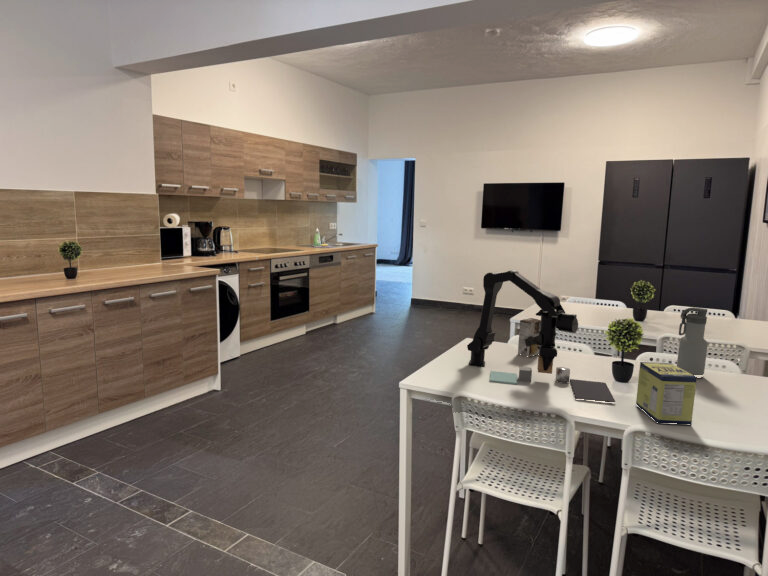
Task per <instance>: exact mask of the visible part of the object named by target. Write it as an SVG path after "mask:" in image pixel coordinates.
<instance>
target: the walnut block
mask: <svg viewBox="0 0 768 576" xmlns="http://www.w3.org/2000/svg"><path fill="white" fill-rule="evenodd" d="M537 356H538V357H537V373H542V374H553V366H554V364H553V363H554V360H553V361H552V362H551V364H550V366H549V368H548V369H547V371H545V370H544V368H543V359H542V357H541V356H540V355H537Z"/></svg>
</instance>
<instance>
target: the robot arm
mask: <svg viewBox="0 0 768 576" xmlns="http://www.w3.org/2000/svg"><path fill="white" fill-rule="evenodd" d="M482 281H483V284H482V286H483V290H484V298H483V302H482V303H483V304H482V309H481V316H480V320H479V325H478V328H477V329H476V331H475V332H474V335H473V337H472V341H471V342H470V343H468V344H467V346H466V348H467V351H469V352H470V359H469V362H468V365H469V366H478V367H485V366H486V361H485V356H486V353H485V352H486V350H488V349H489V347H490V346H491V345H492V344H493V343H494V342H495V336H496V332H495V331H493V330H492V324H493V319H494V313H495V307H496V301H497V296H498V293H499V292H500V290H502V287H503V284H504V283H505V282H511V283H512V284H514V285H515V286H516V287H518V288H519V289H520V290H522V291H523V292H524V293H526V294H527V295H528V296H529V297H531V298H532V299H533V300H534V302H535V304H536V305H537V306H538V307H539V308H540V309H539V310H538V312H536V313H535V316H538V317H540V320H541V323H540V330H539V332H538V333H537V334H532V335H528V336H525V337H524V341H525V344H526V347H529V346H531V345H535V344H537V345H540V346H537V348H538V349H539V355H540V356H541V357H542V359H543V368H544V370H545V371H547V369H548V368H549V366H550V364H551V362H552V361H553V362H554V360H555V357H556V358H557V357H558V349H557V348H556V337H557V330H558V331H560V332H565V333H569V334H576V333H577V331H578V328H579V320H578V317H577V314H573V313H572V314H570V313H566V311H565V309H564V308H563V306H562V304H561V300H560V298H559V296H557V295H555V294H553V293H551V292H550V291H546V290H543V289H542V288H540V287H538V286H537V285H536V284H534V283H533V282H532V281H530V280H529V279H527V278H526V277H525V276H523V274H521V273H520V272H519V271H518V270H516V269H514V270H513V269H512V270H508V271H505V272H500V271H493V272H492V271H491V272H487V273H486V274H484V276H483V280H482Z"/></svg>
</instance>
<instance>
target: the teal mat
mask: <svg viewBox="0 0 768 576" xmlns="http://www.w3.org/2000/svg"><path fill="white" fill-rule="evenodd" d="M517 375H518V373H513V372H507V371H506V372H503V371H496V370H490V375H489V376H490V377H489V383H490V382H491V383H500V384H509V385H518V376H517Z"/></svg>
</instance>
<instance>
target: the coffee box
mask: <svg viewBox="0 0 768 576" xmlns="http://www.w3.org/2000/svg"><path fill="white" fill-rule="evenodd" d="M540 323H541V319H537V318H532V317H531V318H525V319H520V320H519V332H518V333H519V334H518V344H517V346H518V347H517V355H518V354H521V355H520V356H522V355H525V356H524V357H526V356H528V357H527V358H531V357H530V356H532V357H534V356H533V355H536V356H538V355H537V354H539V349H538V348H537V346H540V345H537V344H535V345H531V346H529V347H526V344H525V341H524V337H525V336H528V335H532V334H537V333H538V332H539V330H540Z"/></svg>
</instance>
